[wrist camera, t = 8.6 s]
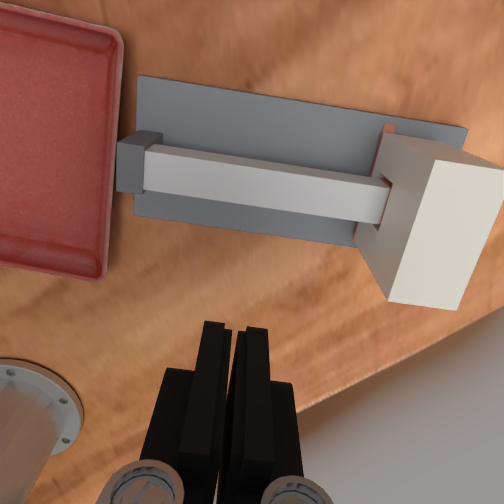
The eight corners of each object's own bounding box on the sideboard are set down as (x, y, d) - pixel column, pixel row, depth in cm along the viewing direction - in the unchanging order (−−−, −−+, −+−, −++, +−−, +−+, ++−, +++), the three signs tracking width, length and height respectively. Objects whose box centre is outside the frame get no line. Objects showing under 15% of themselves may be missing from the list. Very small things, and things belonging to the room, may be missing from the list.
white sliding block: (404, 247, 31) (456, 310, 23) (353, 239, 31) (387, 301, 23) (440, 141, 28) (515, 172, 20) (383, 132, 27) (435, 159, 19)
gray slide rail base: (416, 251, 33) (450, 289, 28) (137, 210, 32) (111, 241, 26) (461, 126, 29) (511, 141, 23) (142, 74, 28) (112, 77, 22)
